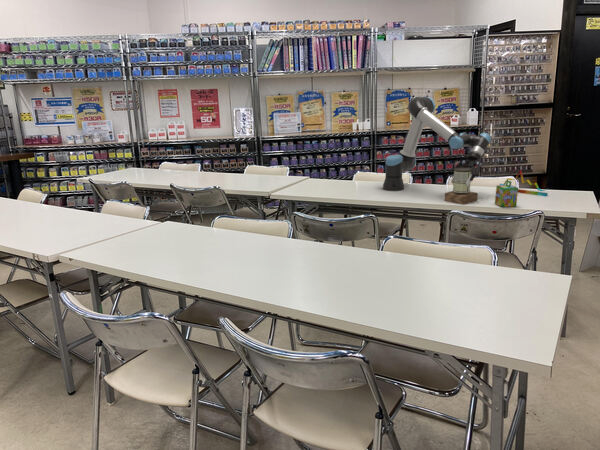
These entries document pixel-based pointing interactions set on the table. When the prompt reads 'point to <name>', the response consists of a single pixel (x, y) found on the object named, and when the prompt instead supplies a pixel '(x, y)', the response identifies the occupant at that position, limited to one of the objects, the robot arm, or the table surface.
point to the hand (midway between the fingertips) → (459, 183)
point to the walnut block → (461, 197)
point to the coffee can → (461, 180)
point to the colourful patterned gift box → (506, 195)
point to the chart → (529, 184)
